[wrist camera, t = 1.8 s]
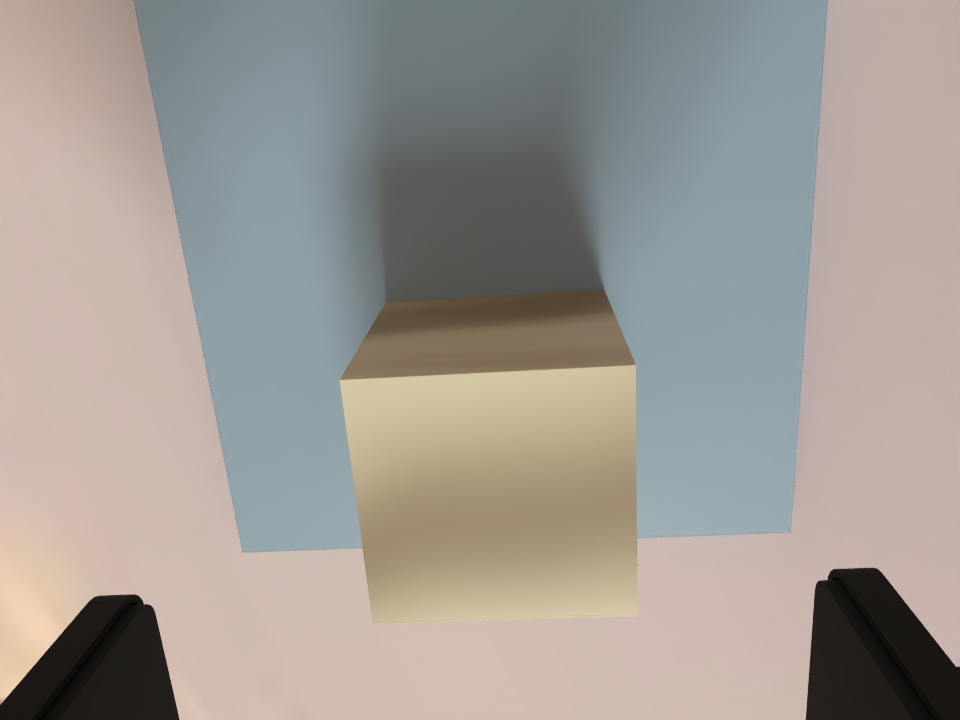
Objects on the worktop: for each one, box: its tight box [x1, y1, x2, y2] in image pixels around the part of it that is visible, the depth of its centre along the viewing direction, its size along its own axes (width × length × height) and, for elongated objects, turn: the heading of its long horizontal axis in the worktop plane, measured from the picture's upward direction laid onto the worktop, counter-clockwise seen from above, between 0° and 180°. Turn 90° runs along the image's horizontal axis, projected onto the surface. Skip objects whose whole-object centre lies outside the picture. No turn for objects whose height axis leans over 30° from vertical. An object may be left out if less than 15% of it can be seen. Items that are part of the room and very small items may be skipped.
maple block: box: [340, 290, 637, 624], centre depth 16 cm, size 5×5×5 cm
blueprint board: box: [134, 0, 828, 553], centre depth 15 cm, size 22×14×6 cm, turn 4°
